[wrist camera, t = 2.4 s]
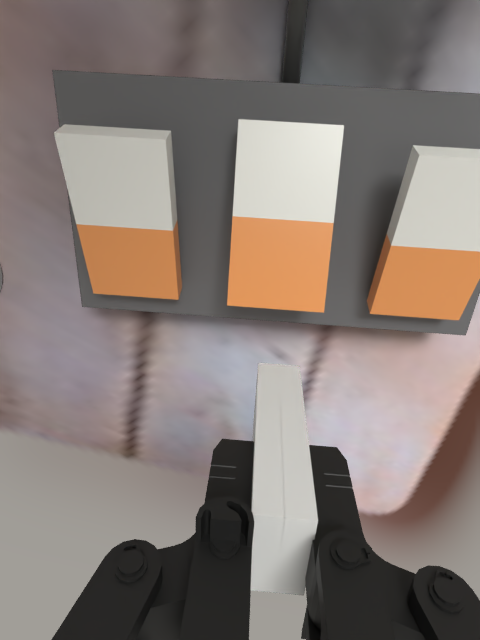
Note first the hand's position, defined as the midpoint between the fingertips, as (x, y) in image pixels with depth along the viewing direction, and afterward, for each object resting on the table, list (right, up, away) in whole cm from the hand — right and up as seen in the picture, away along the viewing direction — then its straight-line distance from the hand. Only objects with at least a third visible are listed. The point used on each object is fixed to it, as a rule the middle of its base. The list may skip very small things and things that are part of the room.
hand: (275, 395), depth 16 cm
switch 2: (+9, +8, +7) cm, 13 cm away
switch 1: (-7, +9, +7) cm, 13 cm away
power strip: (+1, +14, +9) cm, 17 cm away
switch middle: (+1, +8, +7) cm, 11 cm away
